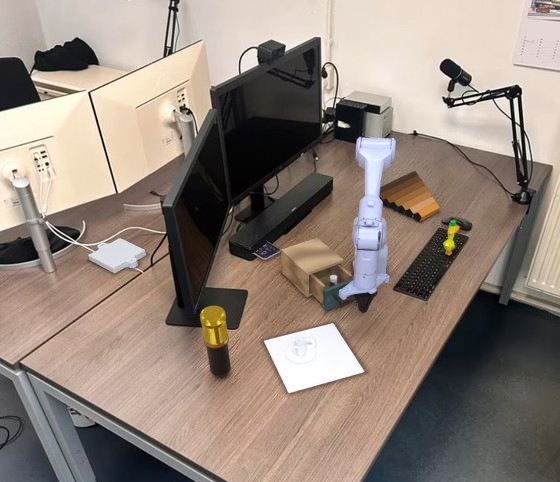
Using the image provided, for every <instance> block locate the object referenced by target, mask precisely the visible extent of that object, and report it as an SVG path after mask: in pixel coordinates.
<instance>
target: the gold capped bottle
mask: <svg viewBox="0 0 560 482" xmlns="http://www.w3.org/2000/svg"><path fill="white" fill-rule="evenodd" d="M199 316H200V317H199V318H200V324H201V328H202V334H203V344H204V346H205V347H206V353H207V359H208V364H209V371H210V373H211V374H212V375H214V376H215V377H217V378H218V379H223V378H225V377H226V376H228V374H229V373H230V371H231V369H232V367H231V366H232V365H231V358H230V351H229V350H230V349H229V343H230V342H229V341H230V337H229V333H228V327H227V315H226V311H225V309H224V308H223V307H221V306H219V305H209V306H207V307H204V308H203V309H202V310H201V311H200V314H199Z"/></svg>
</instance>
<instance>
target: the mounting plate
mask: <svg viewBox="0 0 560 482" xmlns="http://www.w3.org/2000/svg"><path fill="white" fill-rule="evenodd" d="M96 248H97V250H95V251H93V252H91V253H89V254H87V256H88V259H89V262H93V264H96V265H97V266H100V267H102V268H103V269H105V270H107V271H109V272H111V273H113V274H116V273H118V272H120V271H121V270H123V269H125V268H130V269H135V268H136V267H137V266H139V262H138V261H139V260H141V259H142V258H144V257H146V256H147V253H146V252H147V251H146V250H145V249H143V248H142V247H139V246H138V245H136V244H133V243H132V242H130V241H128V240H125V239H123V238H121V237H119V238H117V239H115V240H113V241H112V242H109V243H107V242H101V243H99V244H97V246H96Z"/></svg>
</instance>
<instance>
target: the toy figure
mask: <svg viewBox="0 0 560 482" xmlns="http://www.w3.org/2000/svg"><path fill="white" fill-rule="evenodd" d="M459 230H460V225H458V224H457V222H456V220H455V219H452V220H450V222H449V223H448V228H447V239H446V240H445V241H443V243H442V246H443V248H444V250H445V253H444V255H447V256H451V255H452V254H453V250H454V249H455V248H456V245H455V241H454V237H455V235H456V233H458V231H459Z"/></svg>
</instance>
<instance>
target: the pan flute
mask: <svg viewBox="0 0 560 482" xmlns="http://www.w3.org/2000/svg"><path fill="white" fill-rule="evenodd" d="M379 198H380V199H381V200H382V202H383V207H386V208H390V209H391V210H392V211H394V212H398V213H399V214H401V215H406V217H408V218H410V219H414V221H416V222H418V223H420V222H422V221H424V220H425V219H427V218H429V217H432V216H433V215H434V214H435V215H436V214H437V213H438V212H439V211H440V205H439V204H438V203H437V201H436V199H435V198H434V197H433V195H432V193H431V192H430V191H429V189H428V187H427V186H426V184H425V183H424V181H423V180H422V178H421V177H420V175H419V174H418V173H417V171H416V170H413V171H411V172H409V173H406V174H404V175H403V176H400V177H398V178H396V179H394V180H391V181H390V182H387V183H385V184H384V185H382V186H380V197H379Z"/></svg>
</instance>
